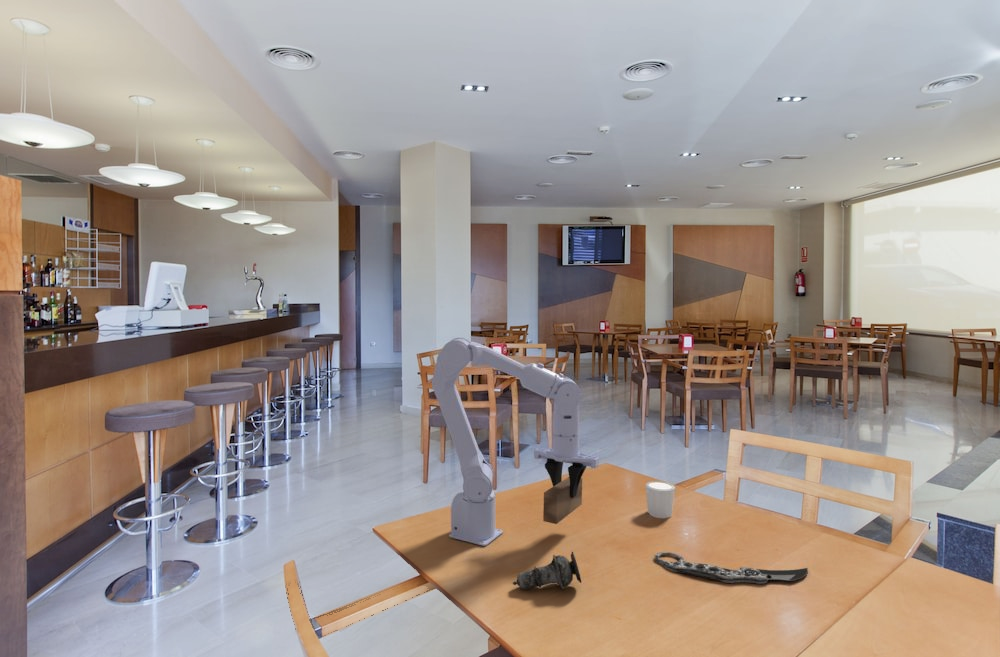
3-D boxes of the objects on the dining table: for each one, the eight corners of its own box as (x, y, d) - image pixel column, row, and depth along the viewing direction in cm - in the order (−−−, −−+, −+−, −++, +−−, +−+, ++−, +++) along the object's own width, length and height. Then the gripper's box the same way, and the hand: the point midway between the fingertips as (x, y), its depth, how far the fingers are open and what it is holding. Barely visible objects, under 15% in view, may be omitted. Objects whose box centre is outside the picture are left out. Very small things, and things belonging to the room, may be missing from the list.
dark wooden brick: (543, 521, 111) (543, 492, 111) (569, 501, 123) (570, 476, 123) (556, 524, 110) (557, 495, 110) (581, 504, 122) (582, 478, 122)
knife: (807, 564, 103) (822, 588, 93) (807, 572, 103) (822, 597, 93) (654, 547, 111) (653, 567, 101) (654, 555, 111) (654, 576, 101)
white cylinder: (651, 506, 135) (651, 478, 135) (678, 512, 131) (678, 484, 130) (641, 515, 129) (641, 486, 129) (669, 521, 125) (669, 492, 125)
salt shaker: (581, 586, 97) (517, 604, 97) (571, 553, 101) (510, 570, 100) (582, 581, 93) (515, 599, 92) (572, 546, 96) (507, 563, 95)
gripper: (528, 433, 117) (527, 494, 118) (590, 442, 110) (590, 507, 110) (542, 427, 123) (541, 485, 124) (602, 435, 116) (601, 496, 116)
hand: (565, 494), depth 117 cm, fingers closed on dark wooden brick, 3 cm apart
